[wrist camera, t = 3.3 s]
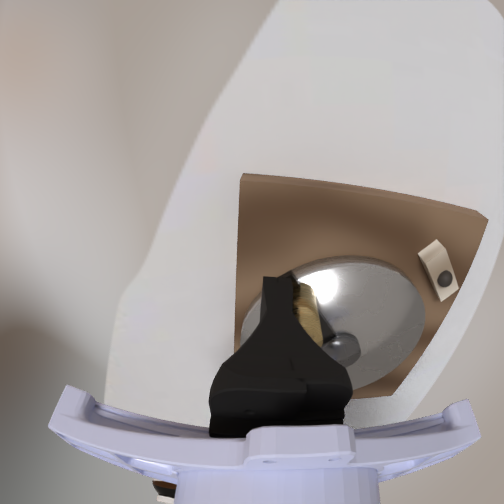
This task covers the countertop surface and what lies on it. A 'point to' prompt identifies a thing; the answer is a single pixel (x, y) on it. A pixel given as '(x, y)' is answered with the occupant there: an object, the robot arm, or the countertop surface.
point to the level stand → (354, 244)
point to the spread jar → (165, 491)
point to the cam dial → (354, 313)
